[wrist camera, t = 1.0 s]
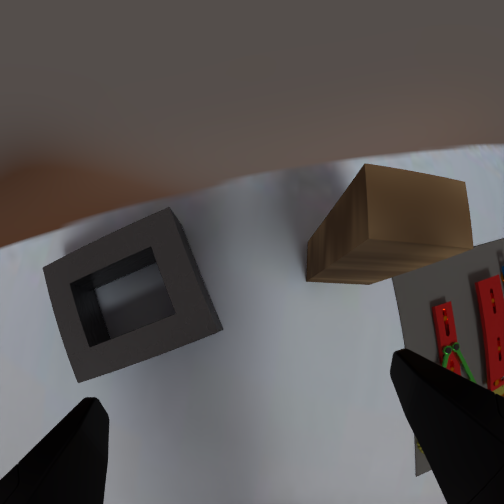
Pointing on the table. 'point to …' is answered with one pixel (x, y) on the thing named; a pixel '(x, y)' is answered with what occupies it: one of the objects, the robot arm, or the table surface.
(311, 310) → the table surface
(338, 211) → the brown wooden block
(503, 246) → the gear board
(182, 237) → the grey block holder
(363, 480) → the table surface
